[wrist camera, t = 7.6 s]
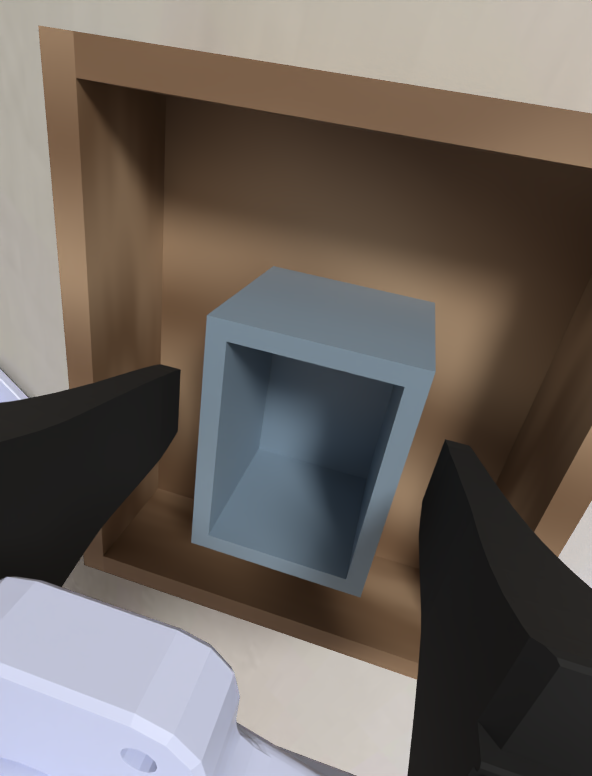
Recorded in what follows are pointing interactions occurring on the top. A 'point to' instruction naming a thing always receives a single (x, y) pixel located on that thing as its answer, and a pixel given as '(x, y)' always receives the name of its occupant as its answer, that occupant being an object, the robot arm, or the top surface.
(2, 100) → the top surface
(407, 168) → the big crate
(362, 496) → the small crate
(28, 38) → the top surface
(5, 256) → the top surface
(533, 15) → the top surface
